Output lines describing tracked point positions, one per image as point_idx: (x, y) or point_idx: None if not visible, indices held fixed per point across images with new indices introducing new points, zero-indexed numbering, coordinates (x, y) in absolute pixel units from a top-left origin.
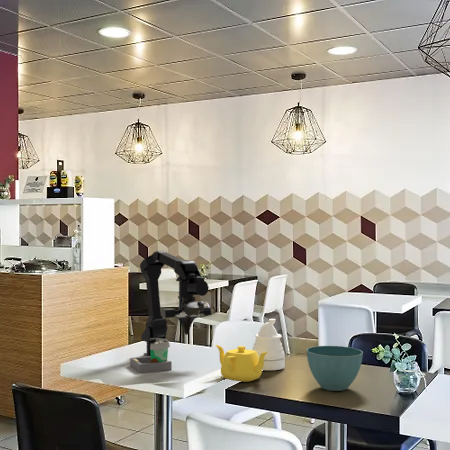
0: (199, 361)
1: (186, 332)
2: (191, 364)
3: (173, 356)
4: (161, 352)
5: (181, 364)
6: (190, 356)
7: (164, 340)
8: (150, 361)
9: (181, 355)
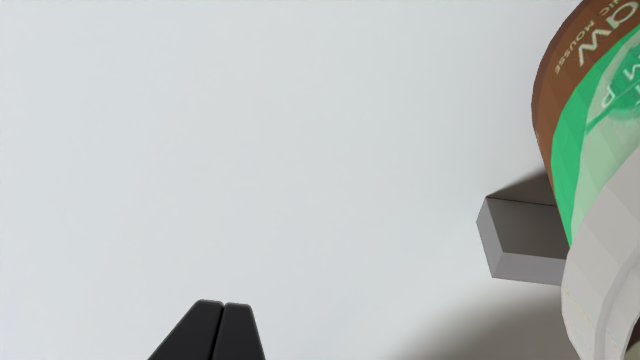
0: (80, 101)
1: (232, 337)
2: (222, 16)
3: None
4: None
5: (327, 74)
6: (102, 301)
7: (616, 350)
8: None
9: None
